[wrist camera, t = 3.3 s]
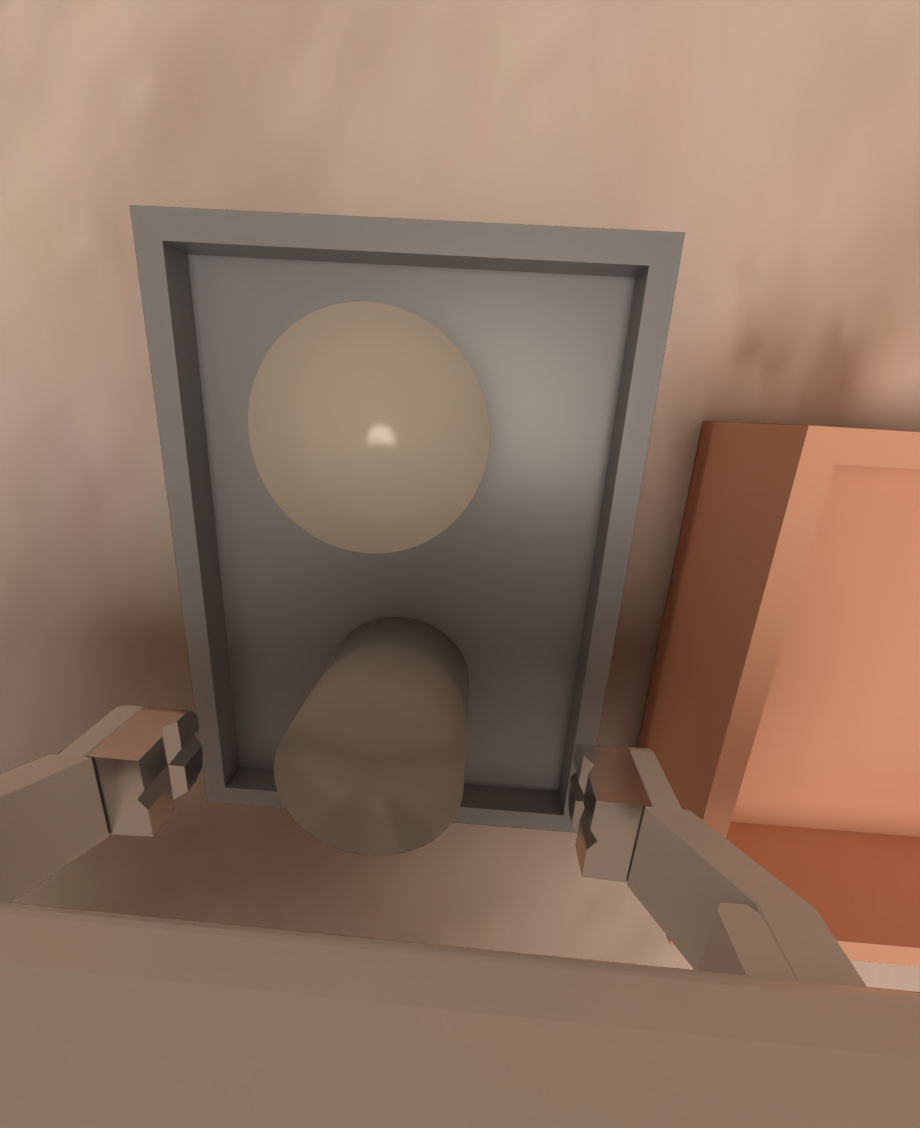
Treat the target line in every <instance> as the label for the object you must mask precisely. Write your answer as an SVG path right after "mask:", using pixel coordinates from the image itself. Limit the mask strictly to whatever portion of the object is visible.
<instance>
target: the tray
mask: <svg viewBox="0 0 920 1128" xmlns="http://www.w3.org/2000/svg"><path fill="white" fill-rule="evenodd" d="M130 213H131V220H132V228H133V236H134V243H135V251H136V259H137V267H138V274H139V282H140V290H141V297H142V305H143V313H144V320H145V328H146V336H147V343H148V351H149V359H150V367H151V374H152V382H153V390H154V397H155V405H156V413H157V420H158V428H159V436H160V443H161V451H162V459H163V467H164V474H165V482H166V490H167V497H168V505H169V513H170V520H171V528H172V536H173V543H174V551H175V559H176V566H177V574H178V582H179V590H180V597H181V605H182V613H183V620H184V628H185V636H186V643H187V651H188V659H189V666H190V674H191V682H192V690H193V697H194V705H195V713H196V714H197V717H198V722H199V727H200V728H199V729H198V736H199V742H200V744H201V745H202V750H203V761H202V766H203V774H204V782H205V790H206V797H207V802H213V803H225V804H237V805H249V806H261V807H273V808H285V806H284V805H283V803H282V801H281V799H280V797H279V794H278V791H277V788H276V785H275V778H274V761H275V755H276V752H277V749H278V746H279V744H280V742H281V740H282V738H283V736H284V734H285V733H286V731H287V730H288V728H289V726H290V725H291V723H292V722H293V720H294V718H295V717H296V715H297V713H298V712H299V710H300V709H301V707H302V705H303V704H304V702H305V701H306V699H307V697H308V696H309V694H310V692H311V691H312V689H313V688H314V686H315V684H316V683H317V681H318V679H319V678H320V676H321V675H322V673H323V671H324V670H325V668H326V667H327V665H328V663H329V662H330V660H331V658H332V657H333V655H334V654H335V652H336V650H337V649H338V647H339V646H340V644H341V643H342V641H343V640H344V639H345V638H346V637H347V636H348V635H349V634H350V633H351V632H352V631H353V630H355V629H356V628H357V627H359V626H361V625H363V624H365V623H367V622H370V621H372V620H375V619H380V618H385V617H406V618H412V619H416V620H420V621H423V622H425V623H428V624H430V625H432V626H434V627H436V628H437V629H439V630H440V631H442V632H443V633H444V634H446V635H447V636H448V637H449V638H450V639H451V640H452V641H453V642H454V644H455V645H456V646H457V647H458V649H459V650H460V652H461V653H462V655H463V658H464V660H465V662H466V665H467V669H468V674H469V695H468V714H467V733H466V751H465V770H464V789H463V796H462V801H461V804H460V807H459V810H458V812H457V814H456V816H455V818H454V819H453V821H452V822H453V823H465V824H477V825H489V826H501V827H513V828H525V829H537V830H549V831H561V832H573V833H578V832H577V831H576V830H575V829H574V828H573V827H572V826H571V821H570V815H569V806H568V797H569V784H570V777H571V776H572V775H573V774H574V773H575V772H576V769H575V765H574V761H573V758H574V753H575V749H576V746H577V744H585V745H597V741H598V735H599V729H600V723H601V717H602V712H603V706H604V700H605V694H606V688H607V683H608V677H609V671H610V665H611V659H612V654H613V648H614V642H615V636H616V630H617V625H618V619H619V613H620V607H621V601H622V596H623V590H624V584H625V578H626V573H627V567H628V561H629V555H630V549H631V544H632V538H633V532H634V526H635V520H636V515H637V509H638V503H639V497H640V491H641V486H642V480H643V474H644V468H645V462H646V457H647V451H648V445H649V439H650V433H651V428H652V422H653V416H654V410H655V404H656V399H657V393H658V387H659V381H660V375H661V370H662V364H663V358H664V352H665V347H666V341H667V335H668V329H669V323H670V318H671V312H672V306H673V300H674V294H675V289H676V283H677V277H678V271H679V265H680V260H681V254H682V248H683V242H684V236H685V232H665V231H645V230H624V229H604V228H584V227H564V226H543V225H523V224H503V223H482V222H462V221H442V220H422V219H401V218H381V217H361V216H340V215H320V214H300V213H280V212H259V211H239V210H219V209H199V208H178V207H158V206H138V205H130ZM364 301H368V302H376V303H384V304H388V305H391V306H395V307H399V308H402V309H404V310H406V311H409V312H411V313H413V314H416V315H418V316H419V317H421V318H423V319H424V320H426V321H427V322H429V323H431V324H432V325H434V326H435V327H436V328H437V329H438V330H440V331H441V332H442V333H443V334H445V335H446V336H447V337H448V338H449V339H450V340H451V341H452V343H453V344H454V345H455V346H456V347H457V348H458V349H459V350H460V352H461V353H462V355H463V356H464V357H465V359H466V360H467V362H468V363H469V365H470V367H471V369H472V370H473V372H474V374H475V376H476V378H477V380H478V383H479V385H480V388H481V390H482V393H483V396H484V400H485V404H486V408H487V414H488V422H489V448H488V456H487V462H486V466H485V469H484V473H483V476H482V479H481V481H480V484H479V486H478V488H477V491H476V493H475V494H474V496H473V498H472V499H471V501H470V503H469V504H468V506H467V507H466V508H465V510H464V511H463V512H462V514H461V515H460V516H459V517H458V518H457V519H456V520H455V521H454V522H453V523H452V524H451V525H450V526H449V527H448V528H446V529H445V530H444V531H442V532H441V533H440V534H438V535H437V536H435V537H434V538H432V539H430V540H428V541H427V542H425V543H422V544H420V545H417V546H415V547H412V548H409V549H406V550H402V551H398V552H390V553H361V552H354V551H350V550H346V549H342V548H338V547H336V546H333V545H331V544H328V543H326V542H324V541H322V540H320V539H318V538H316V537H314V536H313V535H311V534H310V533H308V532H307V531H305V530H304V529H302V528H301V527H300V526H298V525H297V524H296V523H295V522H294V521H293V520H292V519H291V518H289V517H288V516H287V515H286V513H285V512H284V511H283V510H282V509H281V508H280V507H279V506H278V504H277V503H276V502H275V500H274V499H273V497H272V496H271V494H270V493H269V492H268V490H267V488H266V486H265V484H264V482H263V481H262V479H261V477H260V474H259V472H258V469H257V467H256V464H255V462H254V458H253V454H252V450H251V446H250V440H249V432H248V409H249V400H250V394H251V390H252V386H253V382H254V379H255V377H256V374H257V372H258V369H259V367H260V365H261V363H262V361H263V359H264V358H265V356H266V354H267V352H268V351H269V349H270V348H271V347H272V346H273V344H274V343H275V342H276V340H277V339H278V338H279V337H280V336H281V335H282V334H283V333H284V332H285V331H286V330H287V329H288V328H289V327H290V326H292V325H293V324H295V323H296V322H298V321H299V320H300V319H302V318H303V317H305V316H307V315H309V314H311V313H313V312H315V311H317V310H319V309H322V308H325V307H328V306H331V305H334V304H340V303H346V302H364ZM285 809H286V808H285Z"/></svg>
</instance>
